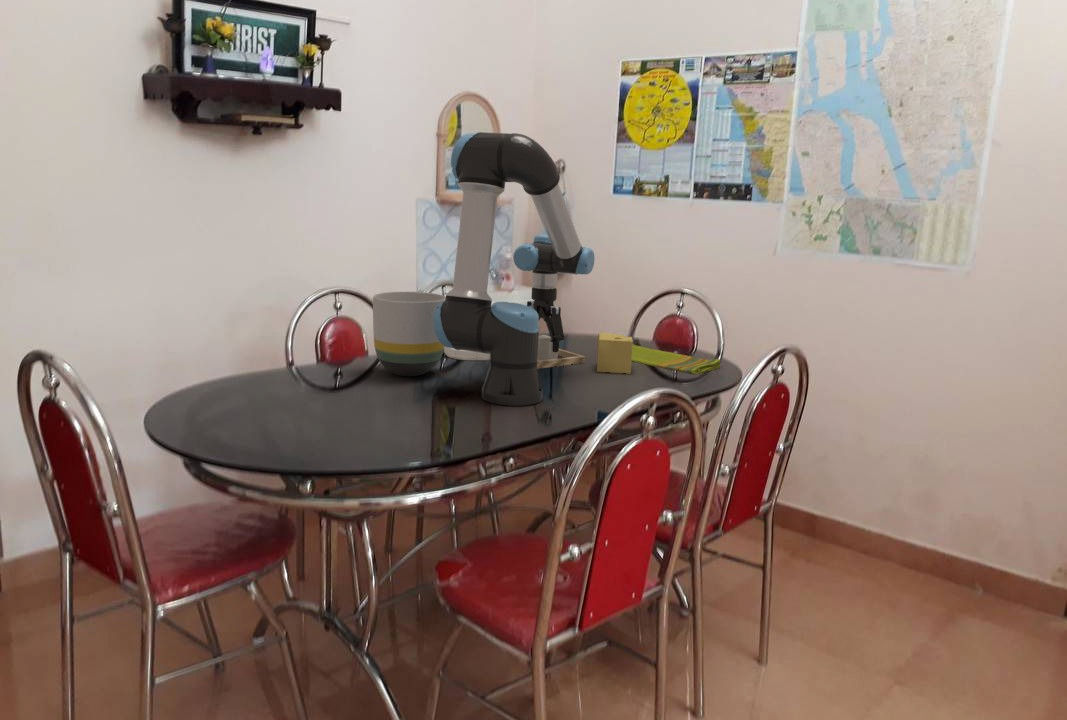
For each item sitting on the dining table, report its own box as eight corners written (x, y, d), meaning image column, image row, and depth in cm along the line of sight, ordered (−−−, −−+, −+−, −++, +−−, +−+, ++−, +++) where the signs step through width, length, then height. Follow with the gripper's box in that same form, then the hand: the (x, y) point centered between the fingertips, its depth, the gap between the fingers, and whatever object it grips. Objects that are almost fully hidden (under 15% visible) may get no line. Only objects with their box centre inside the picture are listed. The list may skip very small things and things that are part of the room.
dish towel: (695, 376, 243) (696, 365, 242) (596, 356, 265) (597, 346, 264) (721, 369, 254) (722, 359, 253) (624, 350, 277) (625, 340, 276)
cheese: (631, 367, 249) (633, 334, 247) (631, 375, 239) (633, 340, 237) (596, 364, 250) (598, 332, 248) (595, 372, 240) (597, 338, 238)
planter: (423, 363, 242) (424, 290, 237) (458, 377, 226) (460, 299, 222) (360, 370, 230) (360, 293, 226) (393, 385, 215) (393, 303, 210)
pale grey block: (538, 361, 251) (539, 338, 249) (529, 358, 255) (530, 336, 253) (552, 360, 254) (553, 337, 253) (543, 357, 258) (544, 334, 256)
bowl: (463, 362, 245) (463, 353, 245) (436, 352, 258) (436, 343, 257) (508, 357, 254) (508, 348, 254) (480, 347, 267) (480, 339, 266)
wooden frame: (536, 368, 241) (536, 362, 241) (498, 355, 257) (498, 349, 257) (584, 363, 252) (585, 356, 251) (545, 350, 267) (545, 344, 267)
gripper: (579, 291, 243) (575, 365, 247) (531, 281, 261) (528, 350, 266) (558, 292, 238) (554, 367, 243) (511, 282, 257) (509, 352, 261)
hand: (541, 358), depth 254 cm, fingers open, 11 cm apart
